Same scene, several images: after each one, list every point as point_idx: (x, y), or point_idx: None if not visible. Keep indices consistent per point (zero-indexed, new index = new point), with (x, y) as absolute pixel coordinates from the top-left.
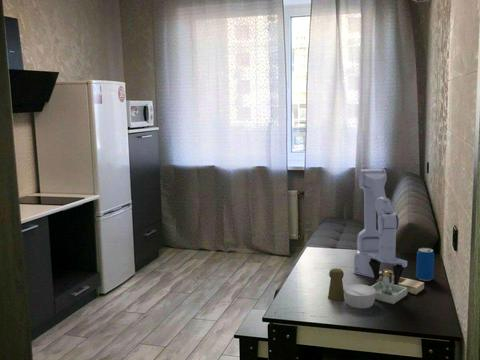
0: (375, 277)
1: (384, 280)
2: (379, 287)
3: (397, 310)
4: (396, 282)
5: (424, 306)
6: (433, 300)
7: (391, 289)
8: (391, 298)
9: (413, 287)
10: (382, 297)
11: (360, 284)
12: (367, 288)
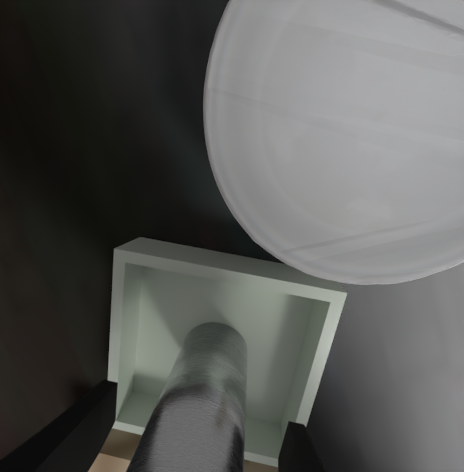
0: (303, 450)
1: (200, 415)
2: (280, 416)
3: (89, 155)
4: (80, 402)
5: (4, 281)
6: (6, 367)
7: (173, 365)
8: (138, 247)
9: None
10: (206, 257)
11: (420, 274)
12: (316, 193)
